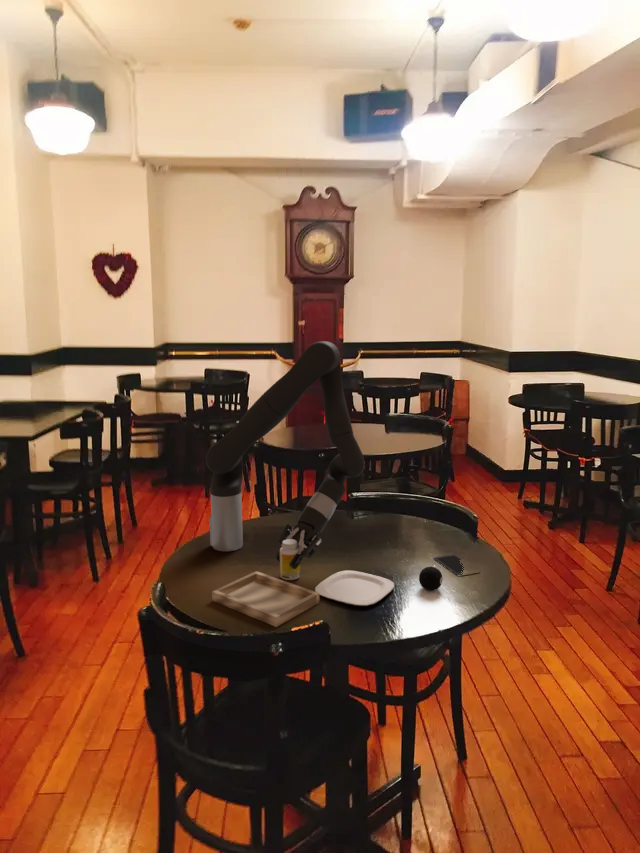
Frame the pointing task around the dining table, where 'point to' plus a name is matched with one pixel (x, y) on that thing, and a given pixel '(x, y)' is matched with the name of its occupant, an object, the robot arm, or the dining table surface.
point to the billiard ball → (430, 578)
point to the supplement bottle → (288, 560)
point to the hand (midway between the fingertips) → (285, 563)
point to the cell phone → (451, 563)
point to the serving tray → (266, 598)
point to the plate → (355, 588)
